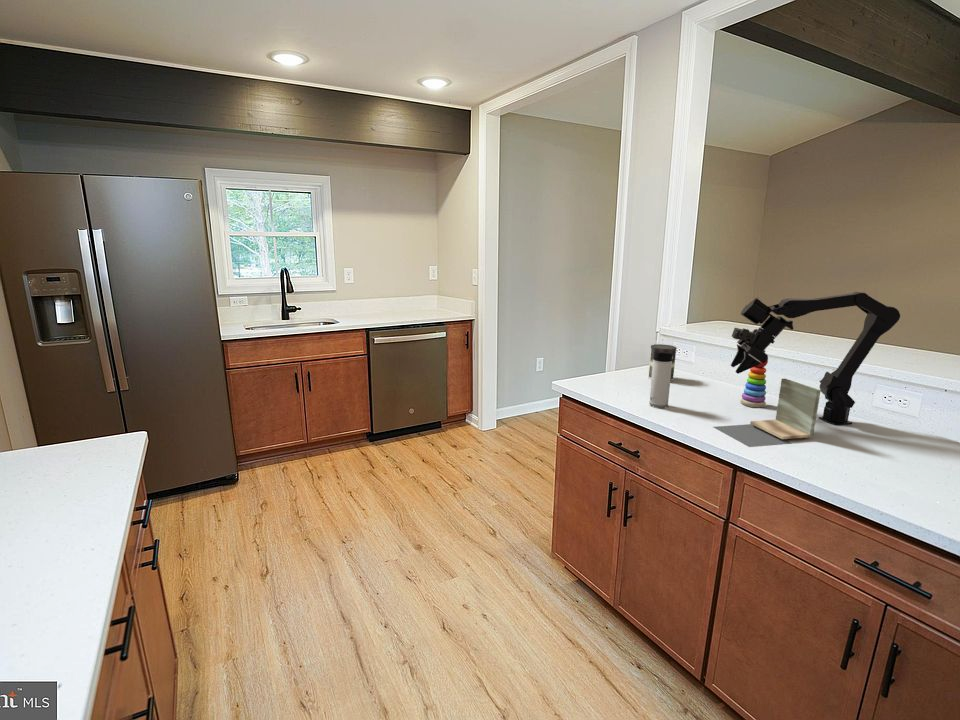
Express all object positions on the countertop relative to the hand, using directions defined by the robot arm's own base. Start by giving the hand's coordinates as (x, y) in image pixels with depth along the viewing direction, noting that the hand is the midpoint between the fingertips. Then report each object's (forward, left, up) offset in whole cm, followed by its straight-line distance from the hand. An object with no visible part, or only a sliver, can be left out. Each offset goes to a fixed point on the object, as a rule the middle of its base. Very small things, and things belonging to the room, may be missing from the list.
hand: (734, 369), depth 164 cm
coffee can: (0, -44, -15) cm, 47 cm away
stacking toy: (-13, -5, -15) cm, 21 cm away
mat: (+9, +21, -15) cm, 27 cm away
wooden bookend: (-1, +21, -15) cm, 26 cm away
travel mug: (+21, -10, -15) cm, 27 cm away
